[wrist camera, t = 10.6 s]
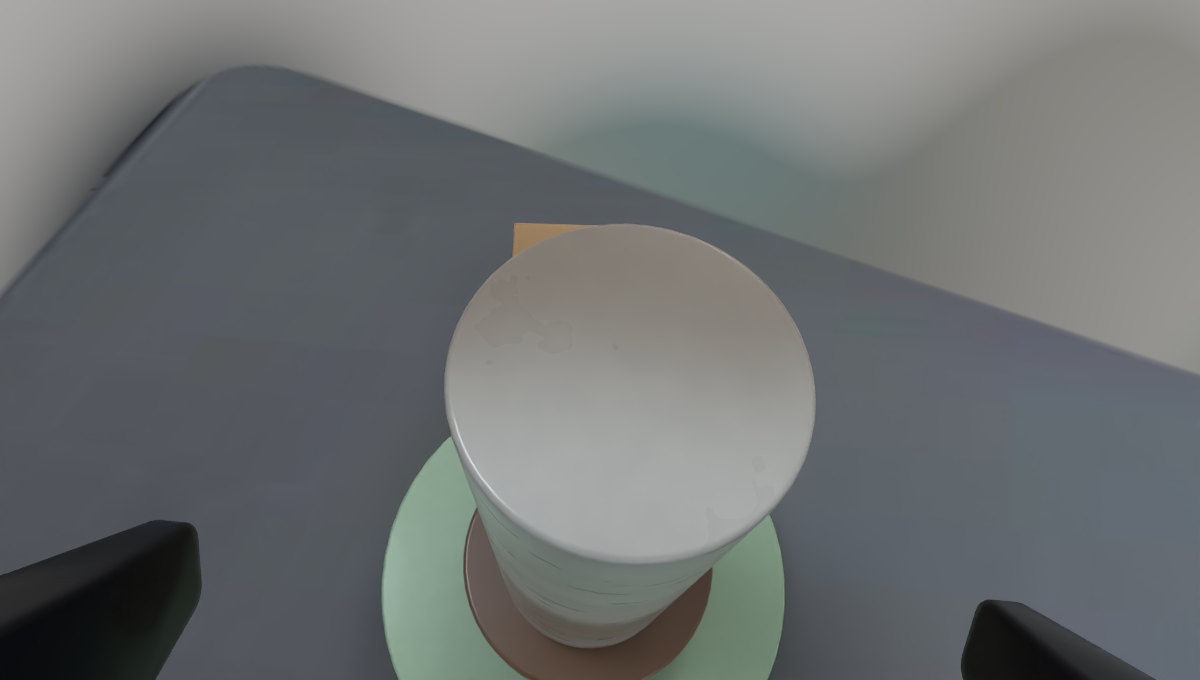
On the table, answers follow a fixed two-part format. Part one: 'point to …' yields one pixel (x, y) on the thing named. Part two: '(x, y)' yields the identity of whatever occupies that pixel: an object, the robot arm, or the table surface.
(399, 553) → the stand
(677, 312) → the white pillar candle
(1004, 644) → the robot arm
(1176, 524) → the table surface
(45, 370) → the table surface
